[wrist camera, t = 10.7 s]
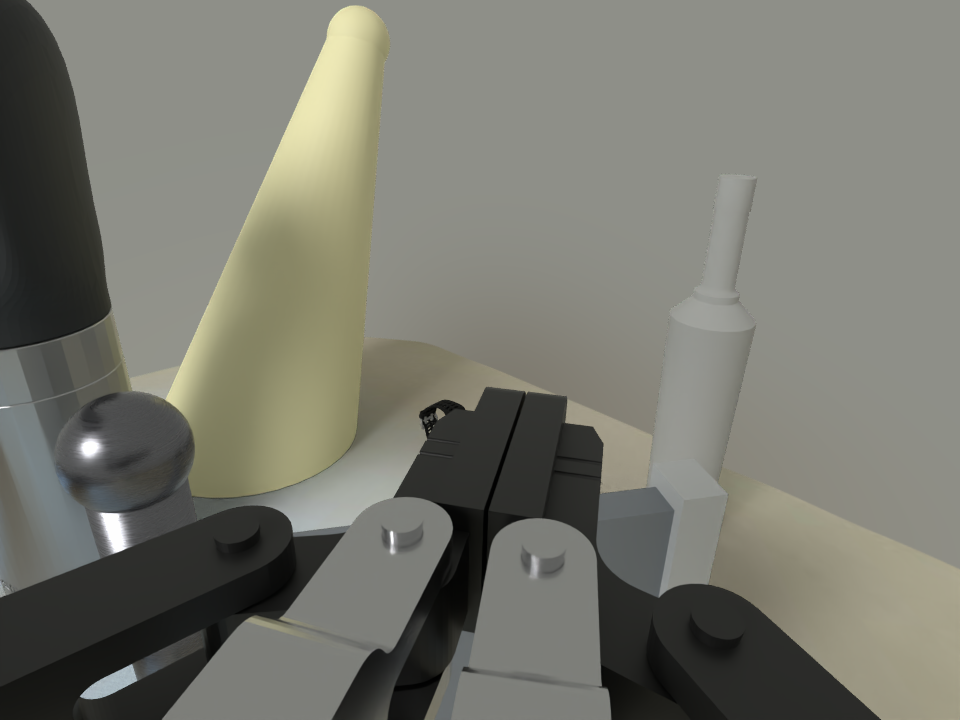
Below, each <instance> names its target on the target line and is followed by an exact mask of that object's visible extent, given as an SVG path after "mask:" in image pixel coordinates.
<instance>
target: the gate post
mask: <svg viewBox="0 0 960 720" xmlns="http://www.w3.org/2000/svg"><path fill="white" fill-rule="evenodd" d="M194 458H195V440H194V435H193V432H192V429H191V427H190V425H189V423H188V421H187V419H186V418H185V417H184V415H183V414H182V413H181V412H180V411H179V410H178V409H177V408H176V407H175V406H173V405H172V404H171V403H169V402H168V401H166V400H164V399H162V398H160V397H158V396H155V395H152V394H148V393H143V392H136V391H125V392H116V393H111V394H107V395H104V396H101V397H99V398H96V399H94V400H92V401H90V402H88V403H87V404H85V405H84V406H82V407H81V408H80V409H78V410H77V411H76V412H75V413H74V414H73V415H72V416H71V417H70V418H69V419H68V421H67V422H66V423H65V425H64V426H63V428H62V430H61V432H60V434H59V435H58V438H57V441H56V445H55V450H54V466H55V471H56V474H57V477H58V479H59V481H60V484H61V485H62V487H63V488H64V490H65V491H66V492H67V493H68V494H69V495H70V497H71V498H72V499H74V500H75V501H76V502H78V503H79V504H81V505H82V506H84V507H85V510H86V513H87V517H88V520H89V523H90V527H91V530H92V533H93V536H94V540H95V543H96V546H97V550H98V553H99V556H100V559H101V558H104V557H106V556H109V555H112V554H114V553H117V552H119V551H122V550H124V549H127V548H130V547H132V546H135V545H137V544H140V543H142V542H145V541H148V540H150V539H153V538H155V537H158V536H160V535H163V534H166V533H168V532H171V531H173V530H176V529H178V528H181V527H184V526H186V525H189V524H191V523H194V522H196V521H197V518H196V513H195V509H194V504H193V499H192V495H191V490H190V485H189V481H188V476H189V473H190V471H191V468H192V466H193V462H194ZM203 647H204V646H203V642H202V638H201V633H200V631H198V632H196V633H194V634H192V635H190V636H188V637H186V638H184V639H182V640H180V641H178V642H176V643H174V644H172V645H170V646H167V647H165V648H163V649H161V650H159V651H157V652H155V653H153V654H151V655H149V656H147V657H145V658H143V659H141V660H139V661H137V662H135V663H133V664H132V665H133V668H134V671H135V674H136V678H137V681H138V680H140V679H142V678H144V677H146V676H148V675H150V674H152V673H154V672H156V671H158V670H160V669H162V668H164V667H166V666H168V665H170V664H172V663H174V662H176V661H178V660H180V659H182V658H184V657H186V656H188V655H190V654H192V653H194V652H196V651H198V650H200V649H201V648H203Z"/></svg>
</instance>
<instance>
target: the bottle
mask: <svg viewBox="0 0 960 720" xmlns="http://www.w3.org/2000/svg"><path fill="white" fill-rule="evenodd" d="M756 182H757V178H756V177H754V176H748V175H737V174H722V175H719V179H718V184H717V191H716V196H715V202H714V214H713V220H712V225H711V230H710V236H709V242H708V247H707V253H706V259H705V264H704V270H703V276H702V281H701V284H700V285H699V286H697V287H695V288H694V292H693V295H692V296H690V297H689V298H687V299H686V300H685V301H683V302H681V303H680V304H678V305H677V306H675V307H674V308H672V309H671V310H670V313H669V321H668V328H667V336H666V343H665V351H664V359H663V366H662V374H661V381H660V389H659V396H658V404H657V411H656V420H655V428H654V434H653V442H652V449H651V457H650V464H649V472H648V479H647V487H646V488H649V486H650V479H651V473H652V467H653V463H661V462H669V461H677V460H686V459H695V460H696V461H697V462H698V463H699V464H700V465H701V466H702V467H703V468H704V469H705V470H706V471H707V472H708V473H709V475H710V476H711V477H712V478H713V479H714V480H715V481H716V482H717V483H718V480H719V476H720V472H721V468H722V464H723V459H724V455H725V451H726V447H727V443H728V439H729V435H730V430H731V426H732V422H733V418H734V414H735V410H736V406H737V402H738V397H739V393H740V389H741V385H742V381H743V377H744V373H745V368H746V364H747V360H748V356H749V352H750V348H751V344H752V340H753V336H754V331H755V327H756V322H755V319H754V318H753V317H752V315H751V314H750V313H749V312H748V311H747V310H746V309H745V307H744V306H743V305H742V304H741V303H740V302H739V296H740V294H739V292H738V291H736V290H735V284H736V279H737V273H738V269H739V263H740V258H741V253H742V248H743V243H744V237H745V232H746V227H747V222H748V216H749V212H750V211H751V207H752V202H753V196H754V192H755V187H756Z"/></svg>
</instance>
